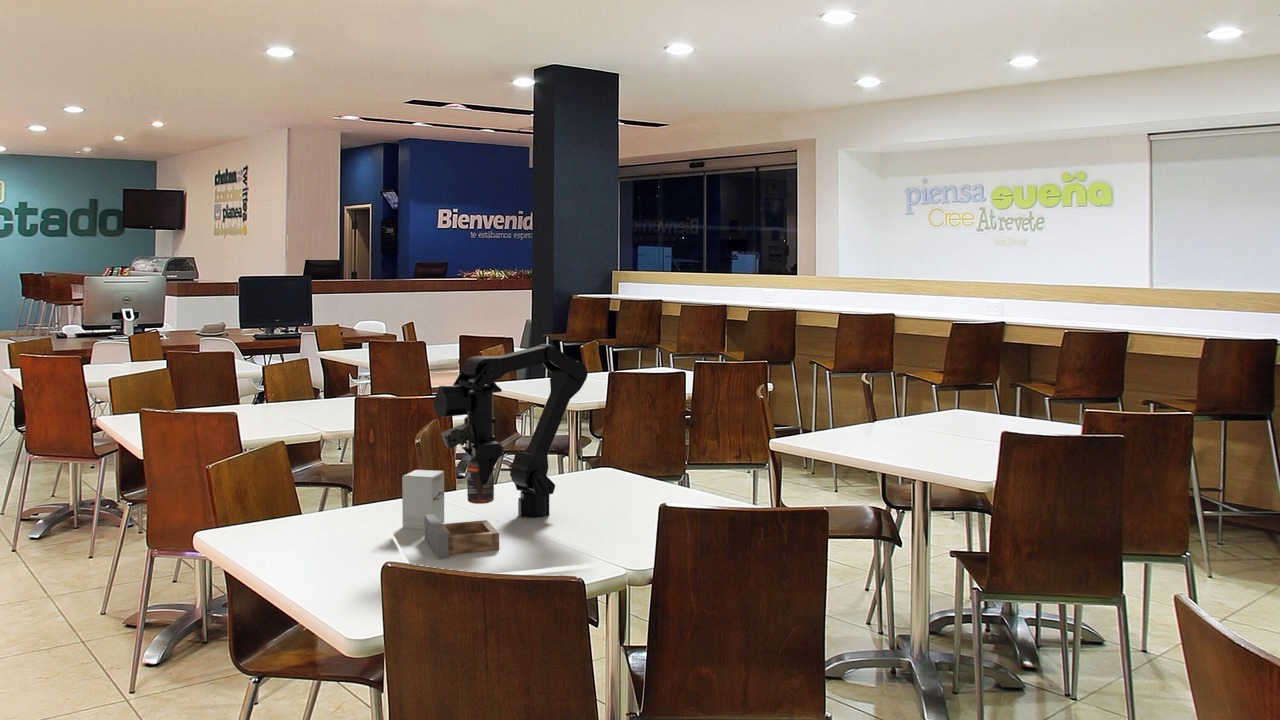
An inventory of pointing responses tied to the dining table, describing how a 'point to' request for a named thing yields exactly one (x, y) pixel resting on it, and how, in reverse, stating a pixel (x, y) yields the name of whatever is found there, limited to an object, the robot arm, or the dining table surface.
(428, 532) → the backstop
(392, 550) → the dining table surface
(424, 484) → the supplement box
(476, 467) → the supplement bottle
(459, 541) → the wooden tray
